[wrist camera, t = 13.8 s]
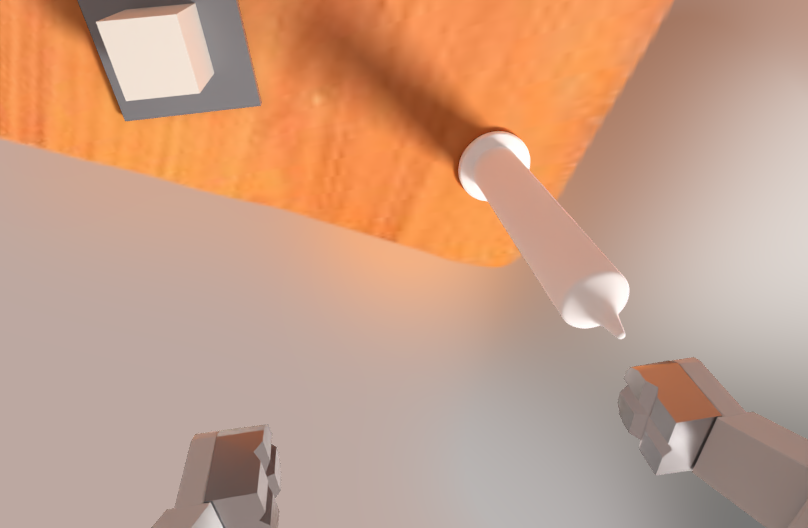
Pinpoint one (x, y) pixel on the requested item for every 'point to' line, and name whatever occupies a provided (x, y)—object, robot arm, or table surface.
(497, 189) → the candle
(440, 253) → the table surface
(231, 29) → the slate plate
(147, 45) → the cream block
